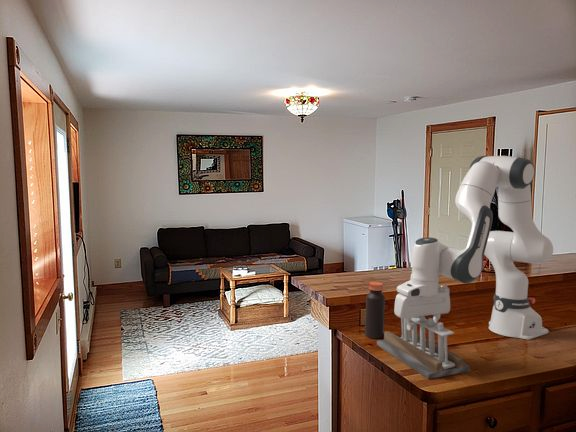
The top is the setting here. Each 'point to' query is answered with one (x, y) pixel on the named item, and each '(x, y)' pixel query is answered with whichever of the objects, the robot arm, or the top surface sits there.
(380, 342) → the cradle
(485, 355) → the top surface
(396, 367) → the top surface
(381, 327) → the bottle
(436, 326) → the test tube rack
